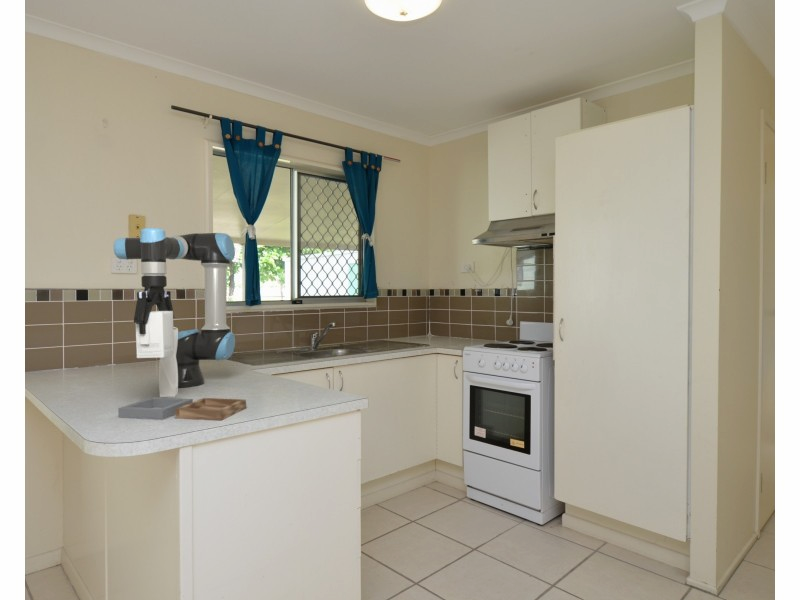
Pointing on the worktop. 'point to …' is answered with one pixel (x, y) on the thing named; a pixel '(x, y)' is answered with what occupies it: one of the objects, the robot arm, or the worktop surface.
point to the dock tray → (210, 409)
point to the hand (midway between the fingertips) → (155, 342)
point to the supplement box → (157, 336)
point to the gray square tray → (148, 412)
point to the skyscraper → (169, 372)
